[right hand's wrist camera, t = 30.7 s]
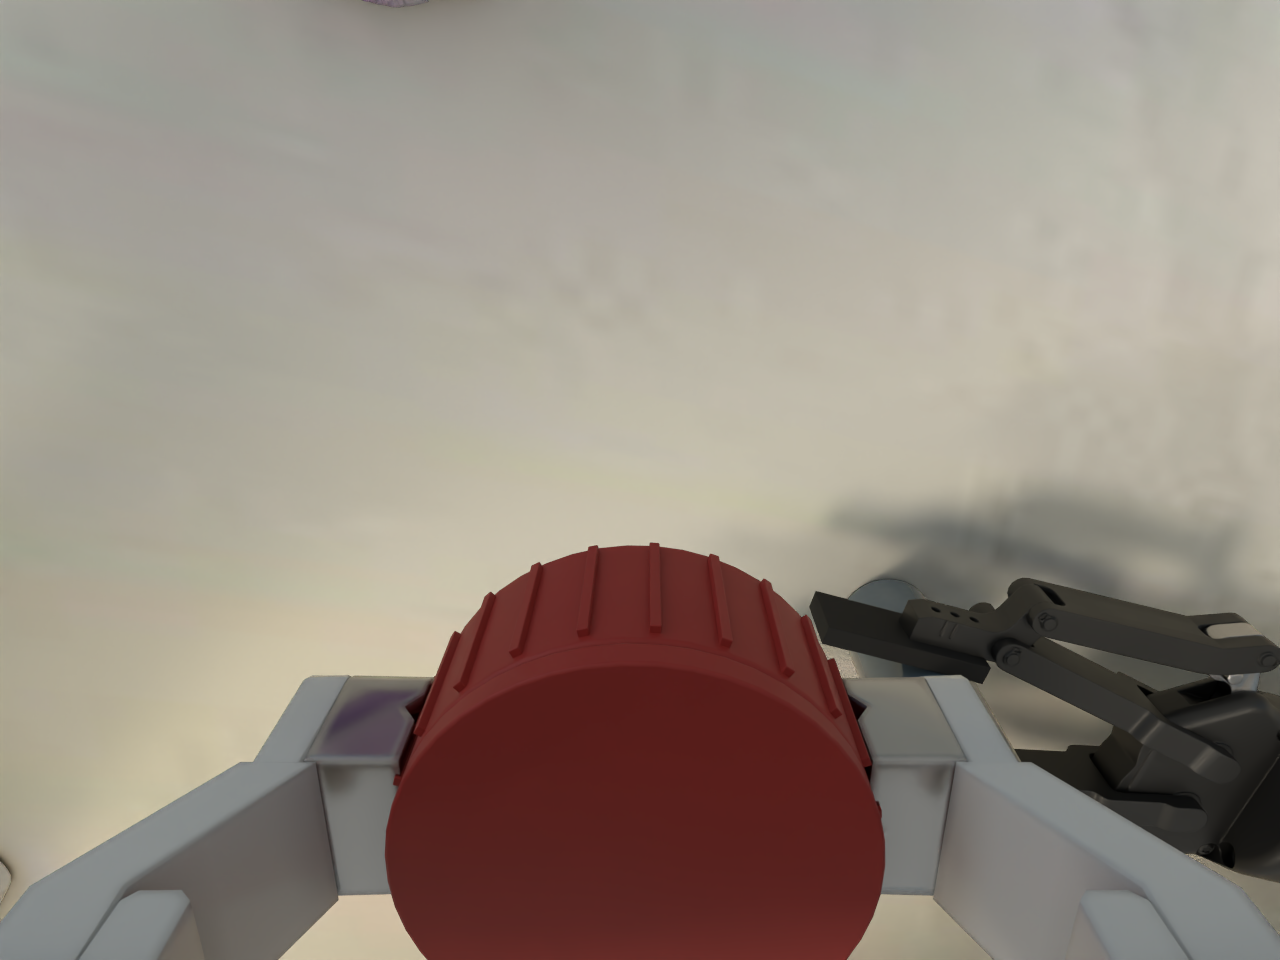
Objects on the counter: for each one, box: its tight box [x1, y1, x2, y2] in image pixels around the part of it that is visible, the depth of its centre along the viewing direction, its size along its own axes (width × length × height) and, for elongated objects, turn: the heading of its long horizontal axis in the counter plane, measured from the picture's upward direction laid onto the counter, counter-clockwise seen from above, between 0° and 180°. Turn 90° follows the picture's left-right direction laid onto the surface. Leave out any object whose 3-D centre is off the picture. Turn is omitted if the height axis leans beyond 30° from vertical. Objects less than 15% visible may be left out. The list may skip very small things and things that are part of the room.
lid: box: [385, 543, 885, 960], centre depth 10 cm, size 5×5×2 cm
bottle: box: [848, 579, 1021, 762], centre depth 34 cm, size 4×4×16 cm
